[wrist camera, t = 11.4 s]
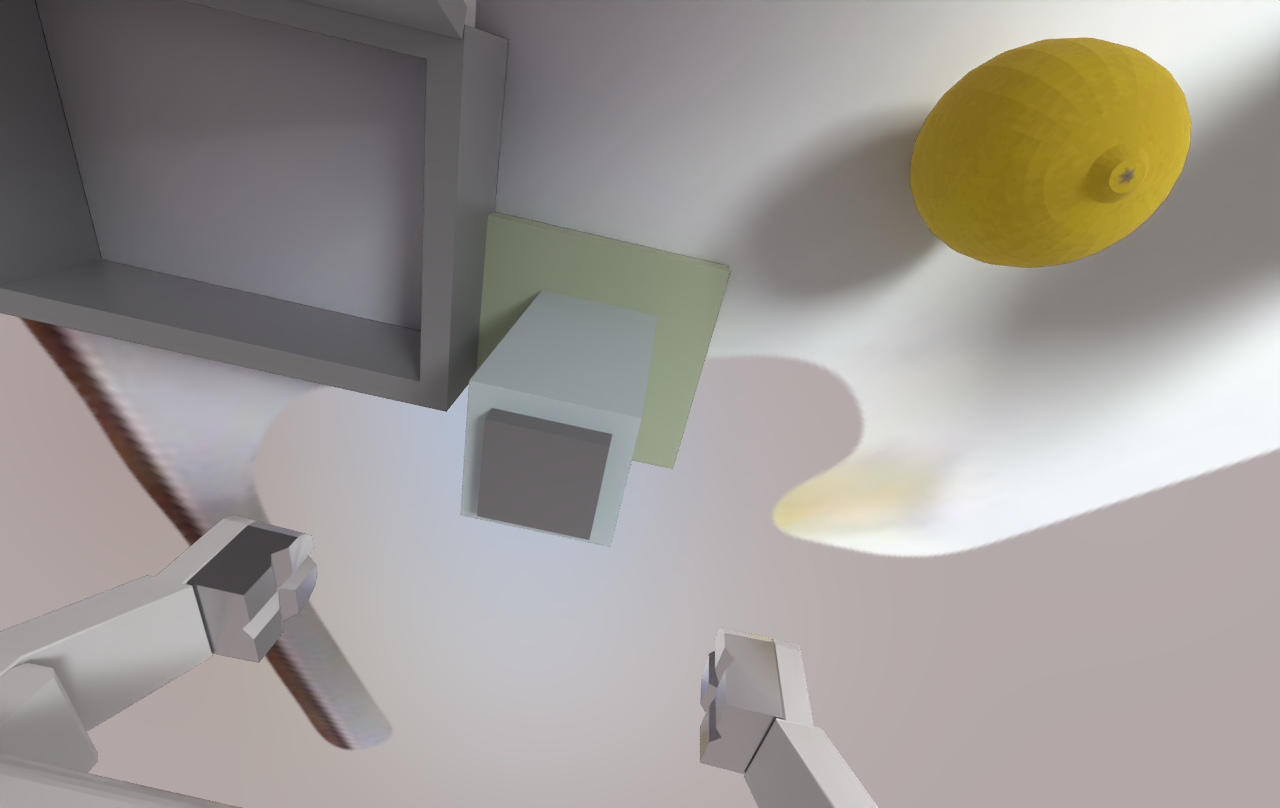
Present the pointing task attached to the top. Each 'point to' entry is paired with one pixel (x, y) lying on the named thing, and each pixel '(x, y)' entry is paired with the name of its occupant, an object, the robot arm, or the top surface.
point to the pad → (618, 277)
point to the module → (558, 418)
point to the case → (241, 321)
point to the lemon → (1050, 152)
